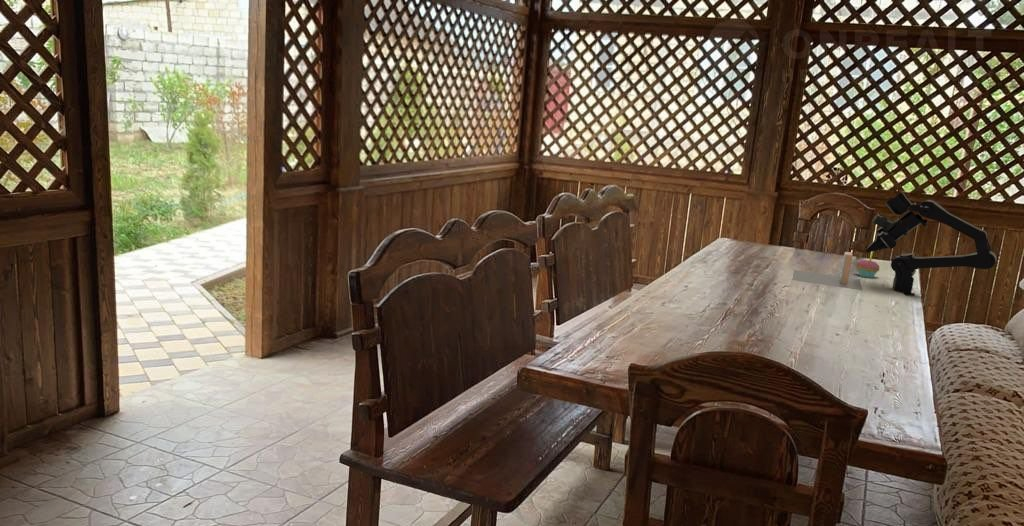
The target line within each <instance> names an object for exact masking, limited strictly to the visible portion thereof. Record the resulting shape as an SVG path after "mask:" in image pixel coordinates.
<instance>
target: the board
mask: <svg viewBox="0 0 1024 526" xmlns="http://www.w3.org/2000/svg"><path fill="white" fill-rule="evenodd" d="M840 276H841V275H840ZM840 276H838V275H831V274H825V273H821V272H814V271H813V272H810V271H804V270H797V269H793V274H792V281H796V282H797V281H798V282H803V283H812V284H818V285H823V286H824V285H825V286H830V287H831V286H832V287H838V288H845V289H851V290H858V291H863V288H862V286H863V285H862V284H861V279H860V278H853V277H849V279H848V284H841V283H840Z"/></svg>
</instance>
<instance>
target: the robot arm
mask: <svg viewBox="0 0 1024 526" xmlns="http://www.w3.org/2000/svg"><path fill="white" fill-rule="evenodd" d="M884 204H885V205H886V206H887V208H889V210H890V211H891V212H892V213H893V214H894V216H896V215H897V216H901V217H899V218H898V219H897V220H892V221H890V220H889V218H888V217H887V216H885V215H880V214H876V215H875V216H874V218H873V219H872V221H871V223H873V224H874V225H877V226H879V228H878V229H876V231H877V232H876V234H875V239H874V240H873V241H872V242H871V243H870V244H869V245H868V246H867V247H866V249H865V250H864V251H865V252H866V253H871V252H872V251H874V252H876V251H880V250H884V249H888V248H890V250H893V248H895V247H896V246H897V242H898V240H899V239H901V238H902V237H903V236H904V237H905V236H906V235H908V233H910V231H913V230H914V229H915V228H918V226H920V225H922V226H923V228H926V227H927V222H928V219H929V220H932V221H936V222H939V223H942V224H944V225H947V226H948V227H951V228H952V229H954V230H955V231H957V232H959V233H961V234H963V235H965V236H967V237H969V238H971V239H972V240H974V241H973V242H974V244H975V245H974V246H975V249H976V251H975V252H971V253H968V254H963V255H962V254H961V255H960V254H959V255H958V254H957V255H942V256H922V257H919V256H915V252H910V253H904V252H902V253H901V254H900V255H897V256H896V257H894V258H893V259H892V260H891V263H890V267H891V269H892V271H893V272H894V278H893V282H892V288H891V289H893V291H894V292H895V291H896V292H899V293H902V294H903V295H907V296H908V295H910V296H911V295H912V296H914V295H916V293H914V292H912V291H913V286H914V282H915V278H914V275H915V274H916V272H917V270H919V269H934V268H935V269H936V268H958V267H959V268H961V267H967V268H973V269H980V270H989V269H992V268H993V267H994V266H995V265H996V262H997V259H998V258H997V255H996V253H994V252H993V250H992V247H991V245H990V241H989V239H988V233H987V232H986V230H984V229H980V228H979V227H977V226H975V225H973V224H971V223H970V222H967V221H965V220H963V219H961V218H960V217H958V216H956V215H954V214H951V213H950V212H949V211H948V210H946V209H945V208H944V207H943V206H942V205H940V204H939V202H936V201H935V200H933V199H926V200H925V201H922V202H918V203H917V202H914V203H912V202H911V201H910V200H909V198H908V197H907V196H906V195H905V193H904V192H903V191H902V192H900V193H897V195H895V196H894V197H891V198H890V199H889V200H887V201H886V202H885V203H884ZM914 212H917V214H915V213H914ZM902 215H903V216H902ZM924 218H927V219H924Z"/></svg>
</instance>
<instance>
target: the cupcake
mask: <svg viewBox="0 0 1024 526" xmlns="http://www.w3.org/2000/svg"><path fill="white" fill-rule="evenodd" d="M874 252H875V251H872V252H870V253H871V254H870V256H869V259H868V260H867V259H863V260H859V261H858V262H856V264H855V267H856V269H857V271H858V276H859V277H863V278H868V279H869V278H870V279H872V278H874V277H875V275H876V274H877V273H878V272H879V271H880V265H879V264H878V263H877V262H876V261H872V259H873V255H874Z"/></svg>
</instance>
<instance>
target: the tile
mask: <svg viewBox="0 0 1024 526" xmlns="http://www.w3.org/2000/svg"><path fill="white" fill-rule="evenodd" d="M853 256H854V255H853V252H850V251H845V252H844V255H843V258H842V259H843V261H842V265H841V272H840V283H841V284H848V279H849V278H850V275H851V274H850V272H851V267H852V261H853Z"/></svg>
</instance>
